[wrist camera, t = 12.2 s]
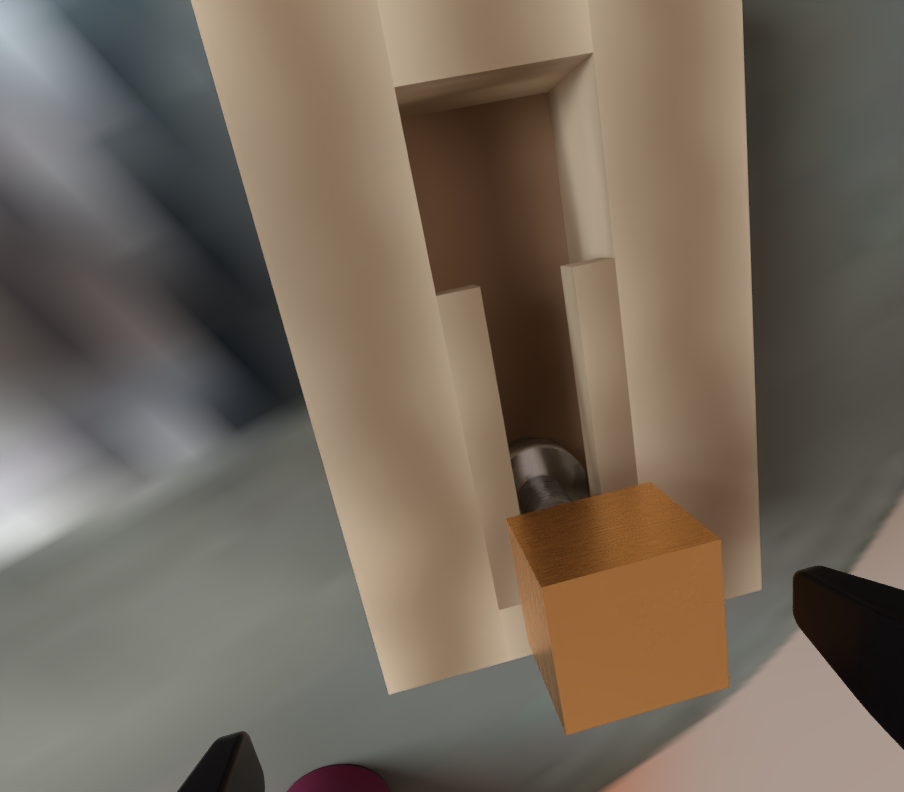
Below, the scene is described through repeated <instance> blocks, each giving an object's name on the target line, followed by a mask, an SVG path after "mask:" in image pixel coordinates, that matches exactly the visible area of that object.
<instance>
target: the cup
mask: <svg viewBox="0 0 904 792" xmlns="http://www.w3.org/2000/svg"><path fill="white" fill-rule="evenodd" d="M287 792H390V791H389V788H388V786H387V785H386V783H385V782H384V781H383V779H381V778H380V777H379V776H378V775H377V774H375V773H373V772H371V771H370V770H368V769H365V768H361V767H358V766H352V765H333V766H328V767H323V768H321V769H318V770H315V771H312V772H310V773H309V774H307V775H305V776H303V777H302V778H300V779H299V780H298V781H296V782H295V783H294V784H293V785H292V786H291V787H290V788H289V790H288V791H287Z"/></svg>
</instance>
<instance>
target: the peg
mask: <svg viewBox="0 0 904 792" xmlns="http://www.w3.org/2000/svg"><path fill="white" fill-rule="evenodd" d="M508 448H509V454H510V460H511V465H512V471H513V477H514V482H515V488H516V494H517V499H518V505H519V511H520V515H518V516H514V517H510V518H506V523H507V528H508V534H509V539H510V545H511V550H512V556H513V561H514V566H515V572H516V577H517V583H518V588H519V594H520V599H521V604H522V610H523V615H524V621H525V626H526V631H527V637H528V642H529V645H530V648H531V650H532V653H533V655H534V658H535V660H536V663H537V665H538V667H539V670H540V672H541V675H542V677H543V680H544V682H545V684H546V687H547V689H548V692H549V694H550V697H551V699H552V702H553V704H554V706H555V709H556V711H557V714H558V716H559V719H560V721H561V723H562V726H563V728H564V731H565V733H566V736H567V735H570V734H573V733H577V732H580V731H583V730H587V729H590V728H594V727H597V726H600V725H604V724H607V723H610V722H614V721H617V720H621V719H624V718H627V717H631V716H634V715H638V714H641V713H644V712H648V711H651V710H654V709H658V708H661V707H665V706H668V705H671V704H675V703H678V702H682V701H685V700H688V699H692V698H695V697H698V696H702V695H705V694H709V693H712V692H715V691H719V690H722V689H725V688H729V676H728V658H727V640H726V622H725V605H724V587H723V569H722V551H721V539H720V538H718V537H717V536H716V535H715V534H714V533H712V532H711V531H710V530H709V529H707V528H706V527H705V526H704V525H703V524H701V523H700V522H699V521H698V520H696V519H695V518H694V517H693V516H692V515H690V514H689V513H688V512H687V511H685V510H684V509H683V508H682V507H681V506H679V505H678V504H677V503H676V502H674V501H673V500H672V499H671V498H670V497H668V496H667V495H666V494H665V493H663V492H662V491H661V490H660V489H659V488H657V487H656V486H655V485H654V484H652V483H651V482H647V483H643V484H640V485H636V486H632V487H628V488H624V489H620V490H616V491H612V492H608V493H604V494H600V495H596V496H592V497H589V483H588V478H587V475H586V472H585V471H584V469H583V467H582V466H581V464H580V463H579V462H578V461H577V460H576V459H575V458H574V457H573V456H572V455H571V454H570V453H569V452H568V451H567V450H566V449H565V448H564V447H563V446H562V445H560V444H559V443H558V442H556V441H554V440H552V439H549V438H545V437H540V436H529V437H523V438H519V439H516V440H514V441H512V442H510V443H508Z"/></svg>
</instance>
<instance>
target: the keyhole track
mask: <svg viewBox="0 0 904 792" xmlns="http://www.w3.org/2000/svg"><path fill="white" fill-rule="evenodd" d="M191 2H192V6H193V9H194V13H195V16H196V20H197V23H198V27H199V30H200V34H201V37H202V41H203V44H204V48H205V51H206V55H207V58H208V62H209V65H210V69H211V72H212V76H213V79H214V83H215V87H216V90H217V94H218V97H219V101H220V104H221V108H222V111H223V115H224V118H225V122H226V125H227V129H228V132H229V136H230V139H231V143H232V146H233V150H234V153H235V157H236V160H237V164H238V167H239V171H240V174H241V178H242V181H243V185H244V188H245V192H246V195H247V199H248V202H249V206H250V209H251V213H252V216H253V220H254V223H255V227H256V230H257V234H258V237H259V241H260V244H261V248H262V251H263V255H264V258H265V262H266V265H267V269H268V272H269V276H270V279H271V283H272V286H273V290H274V293H275V297H276V300H277V304H278V307H279V311H280V314H281V318H282V321H283V325H284V328H285V332H286V335H287V339H288V342H289V346H290V349H291V353H292V356H293V360H294V363H295V367H296V370H297V374H298V378H299V381H300V385H301V388H302V392H303V395H304V399H305V402H306V406H307V409H308V413H309V416H310V420H311V423H312V427H313V430H314V434H315V437H316V441H317V444H318V448H319V451H320V455H321V458H322V462H323V465H324V469H325V472H326V476H327V479H328V483H329V486H330V490H331V493H332V497H333V500H334V504H335V507H336V511H337V514H338V518H339V521H340V525H341V528H342V532H343V535H344V539H345V542H346V546H347V549H348V553H349V556H350V560H351V563H352V567H353V570H354V574H355V577H356V581H357V584H358V588H359V591H360V595H361V598H362V602H363V605H364V609H365V612H366V616H367V619H368V623H369V626H370V630H371V633H372V637H373V640H374V644H375V647H376V651H377V654H378V658H379V661H380V665H381V668H382V672H383V676H384V679H385V683H386V686H387V690H388V693H389V695H390V694H393V693H397V692H400V691H404V690H407V689H411V688H415V687H418V686H422V685H425V684H429V683H432V682H436V681H439V680H443V679H447V678H450V677H454V676H457V675H461V674H464V673H468V672H471V671H475V670H479V669H482V668H486V667H489V666H493V665H496V664H500V663H503V662H507V661H510V660H514V659H518V658H521V657H525V656H528V655H532V654H533V653H532V650H531V648H530V645H529V642H528V637H527V631H526V626H525V621H524V615H523V610H522V604H521V599H520V594H519V588H518V583H517V577H516V572H515V566H514V561H513V556H512V550H511V545H510V539H509V534H508V528H507V523H506V518H510V517H514V516H518V515H520V511H519V505H518V499H517V494H516V488H515V482H514V477H513V471H512V465H511V460H510V454H509V448H508V443H510V442H512V441H514V440H516V439H519V438H523V437H529V436H540V437H545V438H549V439H552V440H554V441H556V442H558V443H559V444H560V445H562V446H563V447H564V448H565V449H566V450H567V451H568V452H569V453H570V454H571V455H572V456H573V457H574V458H575V459H576V460H577V461H578V462H579V463H580V464H581V466H582V467H583V469H584V471H585V472H586V475H587V478H588V483H589V497H592V496H596V495H600V494H604V493H608V492H612V491H616V490H620V489H624V488H628V487H632V486H636V485H640V484H643V483H647V482H651V483H652V484H654V485H655V486H656V487H657V488H659V489H660V490H661V491H662V492H663V493H665V494H666V495H667V496H668V497H670V498H671V499H672V500H673V501H674V502H676V503H677V504H678V505H679V506H681V507H682V508H683V509H684V510H685V511H687V512H688V513H689V514H690V515H692V516H693V517H694V518H695V519H696V520H698V521H699V522H700V523H701V524H703V525H704V526H705V527H706V528H707V529H709V530H710V531H711V532H712V533H714V534H715V535H716V536H717V537H718V538H720V539H721V551H722V569H723V587H724V600H727V599H731V598H734V597H738V596H741V595H745V594H748V593H752V592H755V591H759V590H762V582H761V552H760V522H759V493H758V463H757V433H756V403H755V373H754V343H753V313H752V283H751V253H750V223H749V193H748V163H747V133H746V103H745V73H744V43H743V13H742V0H191Z"/></svg>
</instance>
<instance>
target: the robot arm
mask: <svg viewBox="0 0 904 792" xmlns="http://www.w3.org/2000/svg"><path fill="white" fill-rule="evenodd" d="M793 615H794V618H795V620H796V623H797V624H798V626H799V627H800V629H801V630H802V631H803V633H804V634H805V635H806V636H807V638H808V639H809V640H810V641H811V642H812V644H813V645H814V646H815V647H816V648H817V650H818V651H819V652H820V653H821V655H822V656H823V657H824V659H825V660H826V661H827V662H828V663H829V665H830V666H831V667H832V668H833V670H834V671H835V672H836V673H837V675H838V676H839V677H840V678H841V679H842V681H843V682H844V683H845V684H846V686H847V687H848V688H849V689H850V691H851V692H852V693H853V694H854V696H855V697H856V698H857V699H858V700H859V702H860V703H861V704H862V705H863V706H864V707H865V709H866V710H867V711H868V712H869V713H870V714H871V715H872V717H873V718H874V719H875V720H876V721H877V722H878V723H879V724H880V725H881V726H882V727H883V729H884V730H885V731H886V732H887V733H888V734H889V735H890V736H891V737H892V738H893V739H894V740H895V741H896V742H897V743H898V744H899V745H900V746H901V747H902V748H903V750H904V590H901V589H898V588H894V587H891V586H888V585H884V584H881V583H877V582H874V581H871V580H867V579H864V578H861V577H857V576H854V575H851V574H847V573H844V572H841V571H837V570H834V569H831V568H827V567H824V566H813V567H809V568H806V569H802V570H799V571H797V572H796V573H795V574H794V576H793ZM177 792H265V781H264V774H263V770H262V767H261V765H260V762H259V760H258V757H257V754H256V752H255V749H254V747H253V744H252V741H251V739H250V737H249V735H248V734H247V733H246V732H244V731H240V732H237V733H233V734H230V735H226V736H223V737H220V738H218V739H217V740H216V741H215V742H214V743H213V744H212V745H211V747H210V748H209V749H208V751H207V752H206V753H205V755H204V756H203V757H202V759H201V760H200V761H199V763H198V764H197V765H196V767H195V768H194V770H193V771H192V772H191V774H190V775H189V776H188V778H187V779H186V780H185V782H184V783H183V784H182V786H181V787H180V788H179V790H178V791H177Z"/></svg>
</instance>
